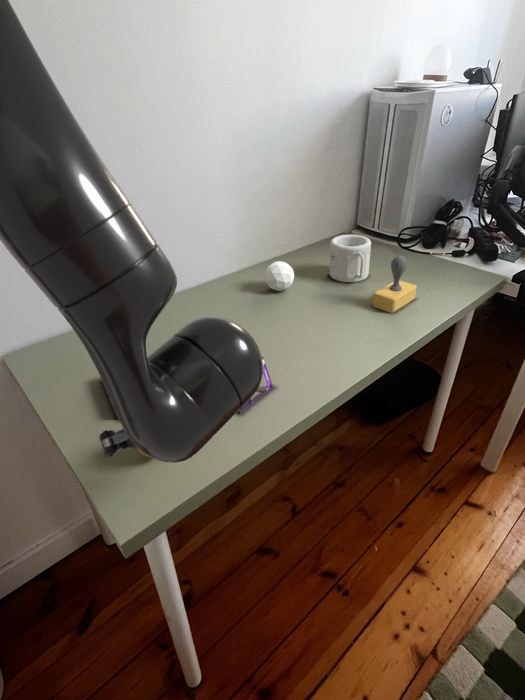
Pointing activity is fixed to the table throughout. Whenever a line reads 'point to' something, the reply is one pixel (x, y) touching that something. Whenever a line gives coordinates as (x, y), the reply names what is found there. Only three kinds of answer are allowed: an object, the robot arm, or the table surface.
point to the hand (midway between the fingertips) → (155, 429)
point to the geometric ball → (279, 276)
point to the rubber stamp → (395, 289)
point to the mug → (349, 258)
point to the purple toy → (268, 381)
